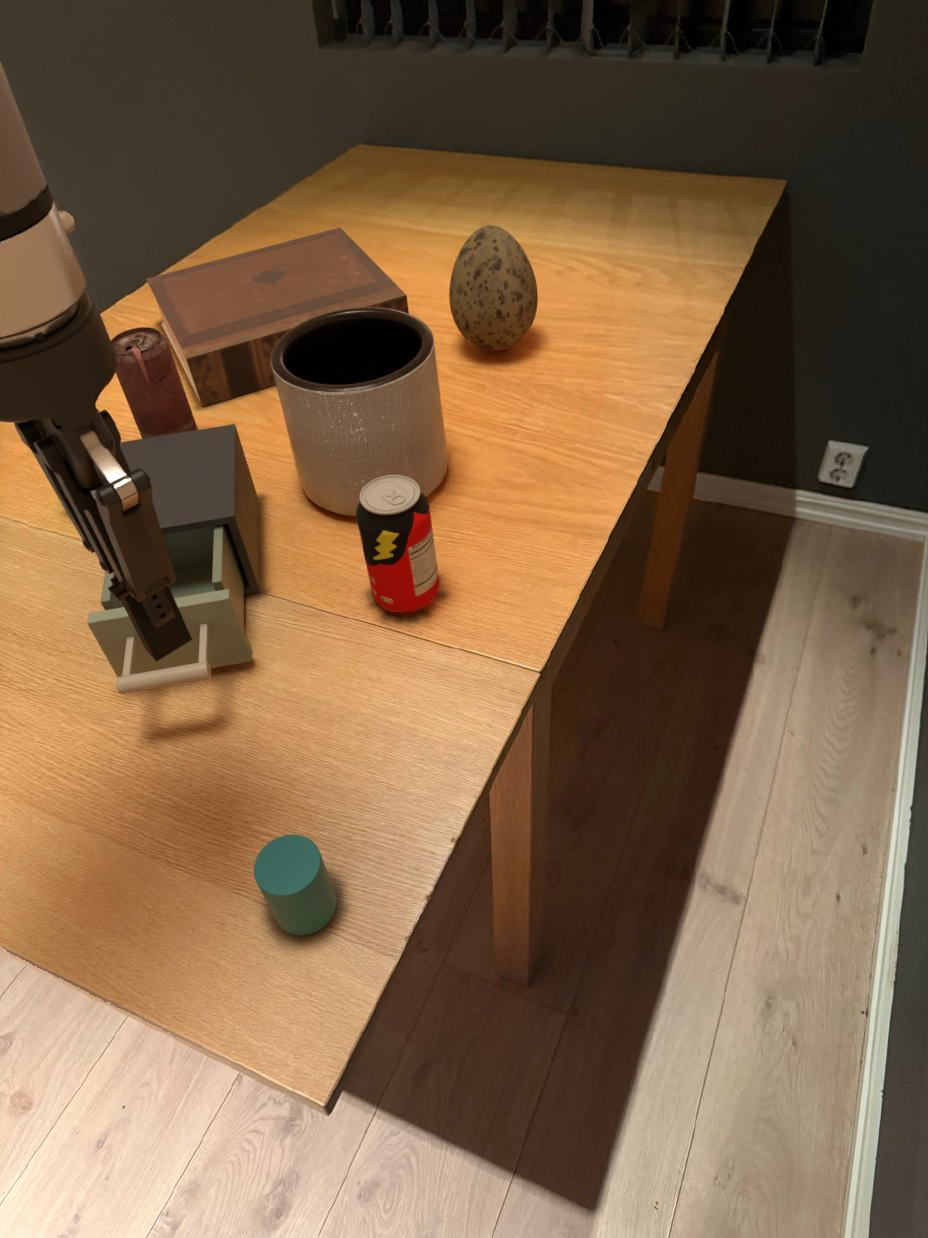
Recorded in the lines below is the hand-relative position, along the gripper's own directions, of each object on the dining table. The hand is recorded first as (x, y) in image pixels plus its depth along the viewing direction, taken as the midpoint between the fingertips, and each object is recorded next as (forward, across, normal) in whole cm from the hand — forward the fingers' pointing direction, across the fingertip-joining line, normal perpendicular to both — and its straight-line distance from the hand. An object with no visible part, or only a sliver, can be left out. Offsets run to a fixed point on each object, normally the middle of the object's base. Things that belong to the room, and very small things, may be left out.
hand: (169, 644), depth 59 cm
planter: (+16, +22, -32) cm, 42 cm away
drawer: (+15, +15, -5) cm, 21 cm away
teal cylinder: (+16, -13, +2) cm, 21 cm away
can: (+16, +43, -19) cm, 50 cm away
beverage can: (+16, +6, -23) cm, 28 cm away
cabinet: (+16, +25, -12) cm, 32 cm away
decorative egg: (+16, +32, -60) cm, 69 cm away
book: (+16, +56, -43) cm, 73 cm away
